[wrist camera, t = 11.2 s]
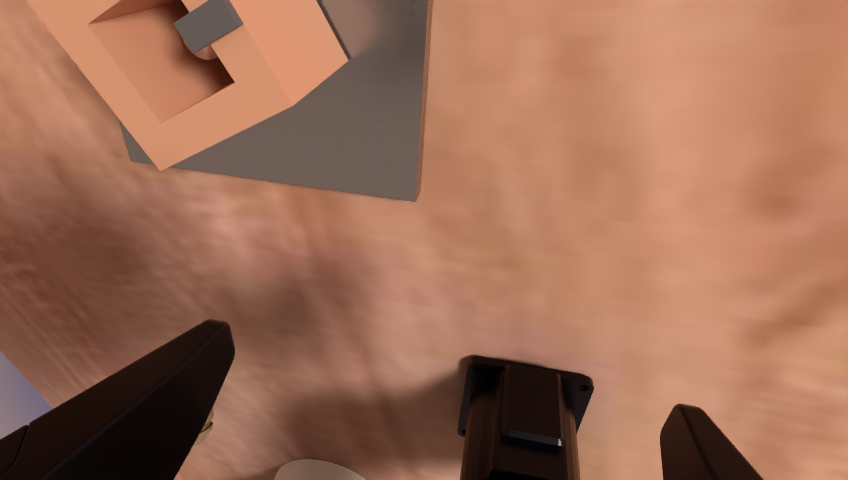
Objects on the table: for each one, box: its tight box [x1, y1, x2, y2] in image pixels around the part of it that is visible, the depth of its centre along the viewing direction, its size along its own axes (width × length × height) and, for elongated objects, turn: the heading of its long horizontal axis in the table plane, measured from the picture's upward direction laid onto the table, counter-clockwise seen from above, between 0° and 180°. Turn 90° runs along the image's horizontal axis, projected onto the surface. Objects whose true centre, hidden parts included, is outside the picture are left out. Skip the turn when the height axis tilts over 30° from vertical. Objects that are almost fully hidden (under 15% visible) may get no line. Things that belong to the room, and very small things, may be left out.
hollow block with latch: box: [27, 0, 348, 171], centre depth 15 cm, size 5×5×5 cm
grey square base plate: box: [118, 0, 433, 202], centre depth 17 cm, size 13×13×4 cm
